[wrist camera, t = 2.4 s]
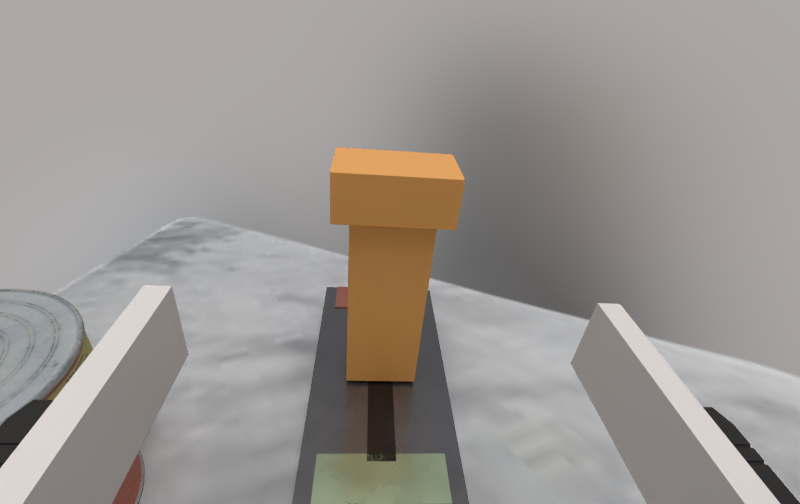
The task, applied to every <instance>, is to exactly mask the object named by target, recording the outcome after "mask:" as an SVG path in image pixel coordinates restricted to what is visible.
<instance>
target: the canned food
mask: <svg viewBox="0 0 800 504" xmlns="http://www.w3.org/2000/svg"><path fill="white" fill-rule="evenodd" d="M92 351H93V349H92V346H91V344H90V342H89V339H88V337H87V335H86V333H85V329H84V323H83V320H82V317H81V315H80V313H79V312H78V310H77V309H76V308H75V307H74V306H73V305H72V304H71V303H69V302H68V301H66V300H65V299H63V298H61V297H58V296H56V295H53V294H49V293H45V292H40V291H35V290H25V289H0V426H1V425H2V423H3V422H4V421H5V420H6V419H7V418H9V417H10V416H11V415H13V414H14V413H15V412H17V411H18V410H20V409H21V408H22V407H24V406H25V405H26V404H28V403H29V402H30V401H32V400H54V399H55V398H56V397H57V395H58V394H59V393H60V392H61V390H62V389H63V388H64V386H65V385H66V384H67V383H68V381H69V380H70V379H71V378H72V376H73V375H74V374H75V372H76V371H77V370H78V369H79V367H80V366H81V365H82V364H83V362H84V361H85V360H86V358H87V357H88V356H89V355H90V353H91V352H92ZM144 474H145V473H144V464H143V459H142V456H141V453H140V451H139V452H138V454H137V456H136V458H135V460H134V461H133V463H132V465H131V467H130V469H129V471H128V473H127V475H126V477H125V479H124V481H123V483H122V485H121V487H120V489H119V491H118V493H117V495H116V497H115V499H114V501H113V503H112V504H138V503H139V501H140V498H141V494H142V490H143V485H144Z"/></svg>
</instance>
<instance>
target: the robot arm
mask: <svg viewBox="0 0 800 504" xmlns="http://www.w3.org/2000/svg"><path fill="white" fill-rule="evenodd" d="M187 356H188V351H187V346H186V342H185V338H184V334H183V330H182V326H181V322H180V318H179V314H178V310H177V306H176V301H175V297H174V293H173V289H172V286H154V285H144V286H143V287H142V288H141V290H140V291H139V292H138V293H137V295H136V296H135V297H134V298H133V300H132V301H131V302H130V304H129V305H128V306H127V307H126V309H125V310H124V311H123V313H122V314H121V315H120V316H119V318H118V319H117V320H116V321H115V323H114V324H113V325H112V327H111V328H110V329H109V330H108V332H107V333H106V334H105V335H104V337H103V338H102V339H101V341H100V342H99V343H98V344H97V346H96V347H95V348H94V349H93V351H92V352H91V353H90V355H89V356H88V357H87V358H86V360H85V361H84V362H83V364H82V365H81V366H80V367H79V369H78V370H77V371H76V372H75V374H74V375H73V376H72V378H71V379H70V380H69V381H68V383H67V384H66V385H65V386H64V388H63V389H62V390H61V392H60V393H59V394H58V395H57V397H56V398H55V399H54V400H32V401H30V402H29V403H28V404H26V405H25V406H24V407H22V408H21V409H20V410H18V411H17V412H15V413H14V414H13V415H11V416H10V417H9V418H7V419H6V420H5V421H4V422H3V423H2V425H1V426H0V504H112V503H113V501H114V499H115V497H116V495H117V493H118V491H119V489H120V487H121V485H122V483H123V481H124V479H125V477H126V475H127V473H128V471H129V469H130V467H131V465H132V463H133V461H134V460H135V458H136V456H137V454H138V452H139V450H140V448H141V446H142V444H143V442H144V440H145V438H146V436H147V434H148V432H149V430H150V428H151V426H152V424H153V422H154V420H155V418H156V416H157V414H158V412H159V411H160V409H161V407H162V405H163V403H164V401H165V399H166V397H167V395H168V393H169V391H170V389H171V387H172V385H173V383H174V381H175V379H176V377H177V375H178V373H179V371H180V369H181V367H182V365H183V363H184V362H185V360H186V358H187ZM571 364H572V366H573V368H574V370H575V372H576V374H577V376H578V377H579V379H580V381H581V383H582V385H583V387H584V388H585V390H586V392H587V394H588V396H589V398H590V400H591V401H592V403H593V405H594V407H595V409H596V411H597V412H598V414H599V416H600V418H601V420H602V422H603V423H604V425H605V427H606V429H607V431H608V433H609V435H610V436H611V438H612V440H613V442H614V444H615V446H616V447H617V449H618V451H619V453H620V455H621V457H622V459H623V460H624V462H625V464H626V466H627V468H628V470H629V471H630V473H631V475H632V477H633V479H634V481H635V483H636V484H637V486H638V488H639V490H640V492H641V494H642V495H643V497H644V499H645V501H646V503H647V504H800V503H799V502H798V500H797V499H796V498H795V497H794V496H793V494H792V493H791V492H790V491H789V490H788V489H787V487H786V486H785V485H784V484H783V483H782V481H781V480H780V479H779V478H778V477H777V475H776V474H775V473H774V472H773V471H772V470H771V468H770V467H769V466H768V465H765V464H764V460H763V459H762V458H761V457H760V455H759V454H758V453H757V452H756V451H755V449H754V448H751V447H750V443H749V442H748V441H747V440H746V439H745V438H744V436H743V435H742V434H741V433H740V432H739V430H738V429H737V428H736V427H735V426H734V425H733V424H732V423H731V422H730V421H728V420H727V419H726V418H725V417H723V416H722V415H721V414H720V413H718V412H717V411H716V410H715V409H713V408H712V407H702V406H701V404H700V403H699V402H698V401H697V399H696V398H695V397H694V396H693V394H692V393H691V392H690V391H689V389H688V388H687V387H686V386H685V384H684V383H683V382H682V381H681V379H680V378H679V377H678V376H677V374H676V373H675V372H674V371H673V370H672V368H671V367H670V366H669V365H668V363H667V362H666V361H665V360H664V358H663V357H662V356H661V355H660V353H659V352H658V351H657V350H656V348H655V347H654V346H653V345H652V343H651V342H650V341H649V340H648V338H647V337H646V336H645V335H644V333H643V332H642V331H641V330H640V328H639V327H638V326H637V325H636V324H635V322H634V321H633V320H632V319H631V317H630V316H629V315H628V314H627V312H626V311H625V310H624V309H623V307H622V306H621V305H620V304H602V303H598V304H597V306H596V308H595V311H594V313H593V315H592V317H591V319H590V322H589V324H588V326H587V328H586V330H585V333H584V335H583V337H582V339H581V342H580V344H579V346H578V348H577V351H576V353H575V355H574V357H573V359H572V362H571Z"/></svg>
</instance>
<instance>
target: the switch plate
mask: <svg viewBox="0 0 800 504" xmlns="http://www.w3.org/2000/svg"><path fill="white" fill-rule="evenodd" d="M347 318H348V287H337V288H334V287H327V290H326V297H325V303H324V309H323V316H322V322H321V328H320V334H319V341H318V347H317V353H316V359H315V366H314V372H313V378H312V384H311V391H310V397H309V403H308V410H307V416H306V422H305V428H304V435H303V441H302V447H301V453H300V460H299V466H298V472H297V479H296V485H295V491H294V497H293V504H469V501H468V496H467V490H466V485H465V480H464V474H463V469H462V463H461V458H460V453H459V447H458V442H457V437H456V431H455V426H454V420H453V415H452V410H451V404H450V399H449V394H448V388H447V383H446V377H445V372H444V367H443V361H442V356H441V351H440V345H439V340H438V334H437V329H436V324H435V318H434V313H433V308H432V302H431V297H430V291H428V292H427V299H426V306H425V312H424V319H423V326H422V332H421V339H420V346H419V353H418V359H417V366H416V373H415V380H414V382H413V381H346V371H347Z"/></svg>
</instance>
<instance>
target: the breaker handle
mask: <svg viewBox="0 0 800 504" xmlns="http://www.w3.org/2000/svg"><path fill="white" fill-rule="evenodd" d="M464 183H465V179H464V177H463V175H462V173H461V171H460V169H459V167H458V165H457V163H456V160H455V159H454V156H453V155H450V154H435V153H419V152H403V151H388V150H370V149H355V148H340V147H336V150H335V154H334V158H333V162H332V167H331V171H330V217H331V218H330V219H331V220H330V221H331V222H330V223H331V224H337V225H338V224H339V225H349V265H348V318H347V371H346V381H413V382H414V380H415V373H416V366H417V359H418V353H419V346H420V339H421V332H422V326H423V319H424V312H425V306H426V299H427V292H428V285H429V279H430V272H431V265H432V258H433V252H434V245H435V238H436V231H437V229H445V230H456V228H457V223H458V217H459V211H460V206H461V200H462V194H463V189H464Z"/></svg>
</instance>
